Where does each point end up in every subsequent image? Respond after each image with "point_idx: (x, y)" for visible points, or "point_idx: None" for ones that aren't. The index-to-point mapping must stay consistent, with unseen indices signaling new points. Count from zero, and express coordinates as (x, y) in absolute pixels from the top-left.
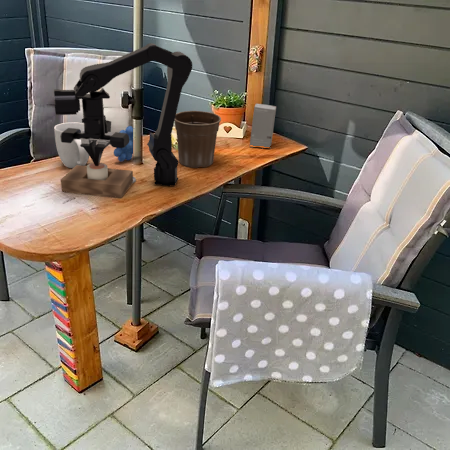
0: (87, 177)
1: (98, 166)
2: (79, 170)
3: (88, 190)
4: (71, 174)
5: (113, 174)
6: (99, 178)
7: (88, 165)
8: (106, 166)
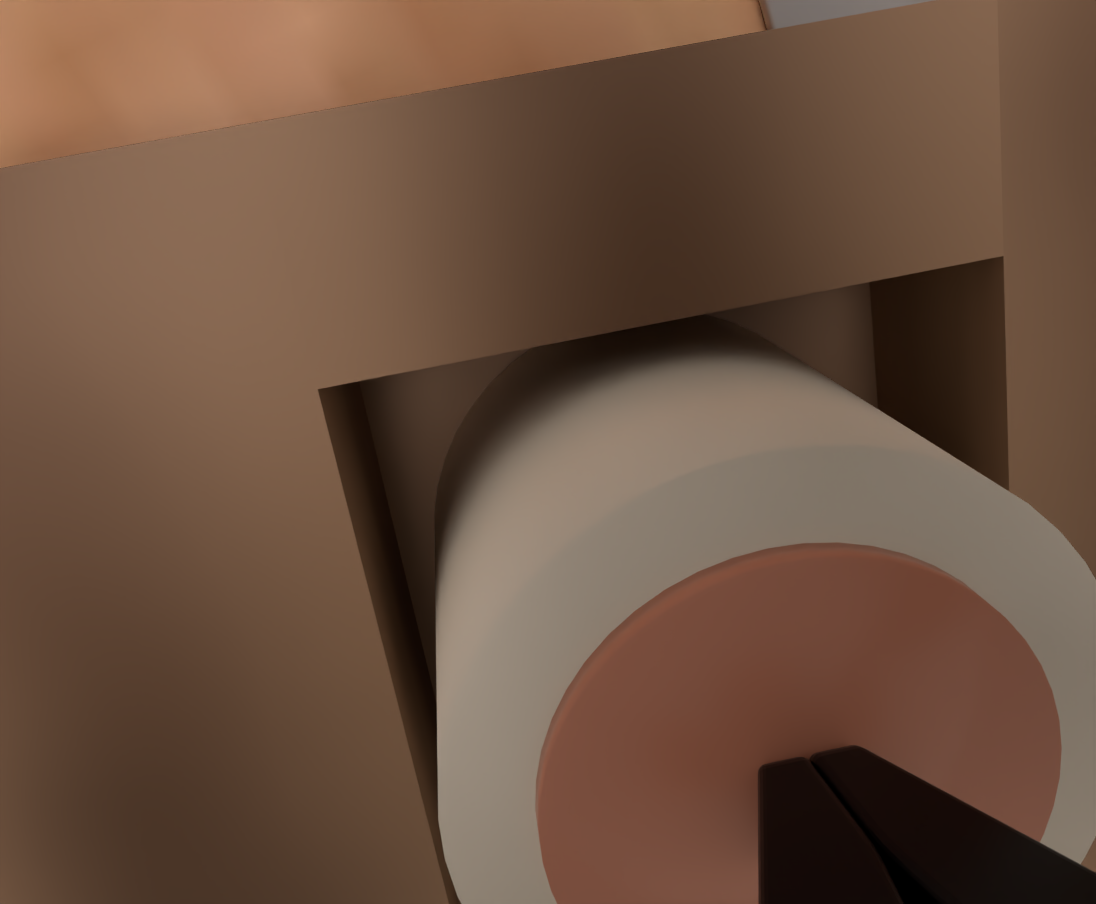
0: (390, 595)
1: None
2: (60, 585)
3: None
4: (71, 892)
5: (1085, 421)
6: None
7: (480, 843)
8: (1091, 648)
